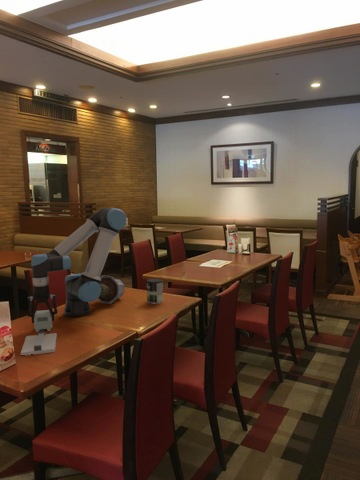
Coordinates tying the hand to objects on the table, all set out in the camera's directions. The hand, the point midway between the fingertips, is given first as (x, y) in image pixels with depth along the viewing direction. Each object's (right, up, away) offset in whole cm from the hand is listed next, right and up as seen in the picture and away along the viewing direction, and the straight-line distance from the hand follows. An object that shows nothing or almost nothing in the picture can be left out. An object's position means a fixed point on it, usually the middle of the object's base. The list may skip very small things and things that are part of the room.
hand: (43, 328), depth 201 cm
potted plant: (+24, +5, +44) cm, 50 cm away
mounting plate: (+6, -3, -21) cm, 22 cm away
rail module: (0, -1, 0) cm, 1 cm away
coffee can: (+55, +6, +46) cm, 72 cm away
